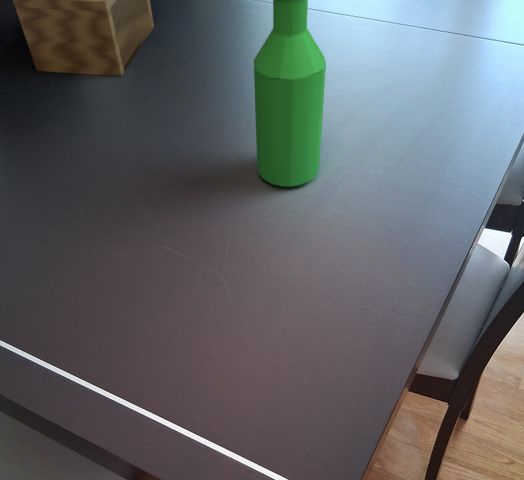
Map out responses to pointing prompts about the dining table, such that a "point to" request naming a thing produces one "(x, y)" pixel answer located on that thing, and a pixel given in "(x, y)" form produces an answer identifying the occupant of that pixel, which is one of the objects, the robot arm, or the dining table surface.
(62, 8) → the wood grain cube
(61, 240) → the dining table surface
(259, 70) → the bottle
